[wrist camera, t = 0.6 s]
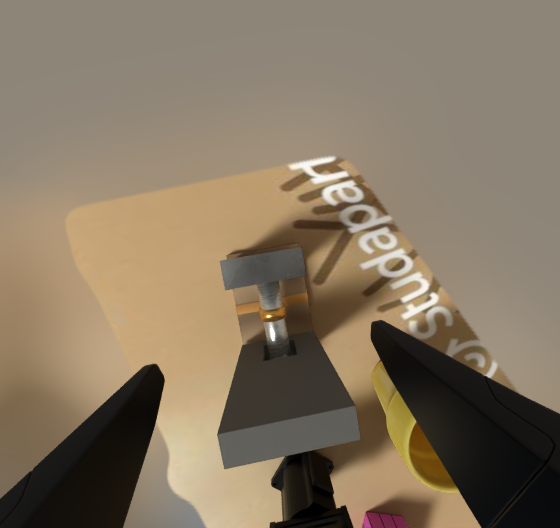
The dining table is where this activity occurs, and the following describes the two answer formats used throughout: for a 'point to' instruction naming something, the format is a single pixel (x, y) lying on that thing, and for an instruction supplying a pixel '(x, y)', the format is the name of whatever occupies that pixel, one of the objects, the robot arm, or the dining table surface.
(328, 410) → the grey flat slab
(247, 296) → the clear base plate
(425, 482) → the yellow cup
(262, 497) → the dining table surface
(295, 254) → the metal rod with plate
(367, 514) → the puzzle toy
